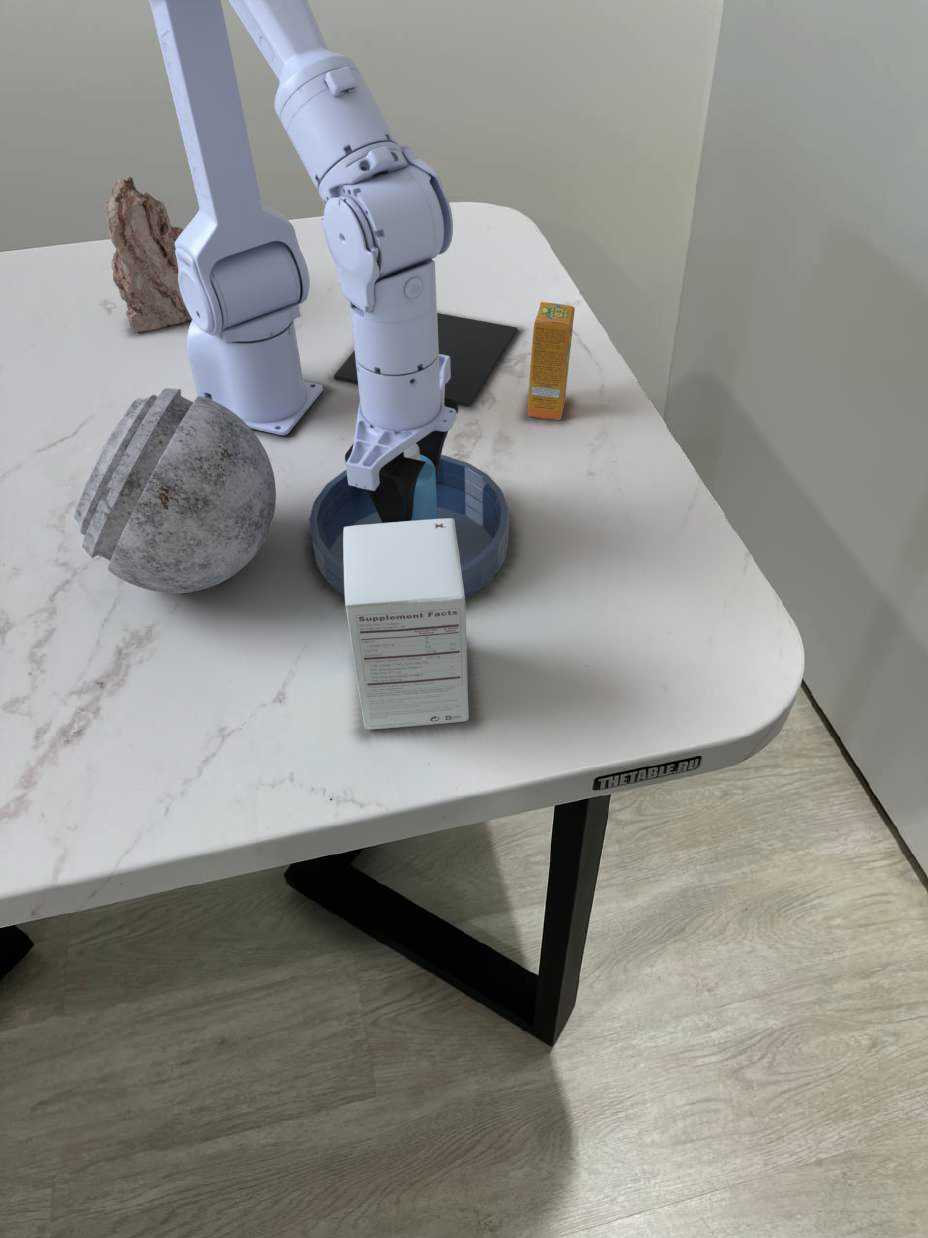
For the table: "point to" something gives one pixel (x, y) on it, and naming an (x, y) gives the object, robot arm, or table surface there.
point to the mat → (459, 355)
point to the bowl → (457, 497)
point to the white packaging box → (407, 622)
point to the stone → (144, 258)
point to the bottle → (423, 487)
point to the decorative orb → (178, 495)
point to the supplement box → (550, 360)
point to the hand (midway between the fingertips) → (408, 504)
